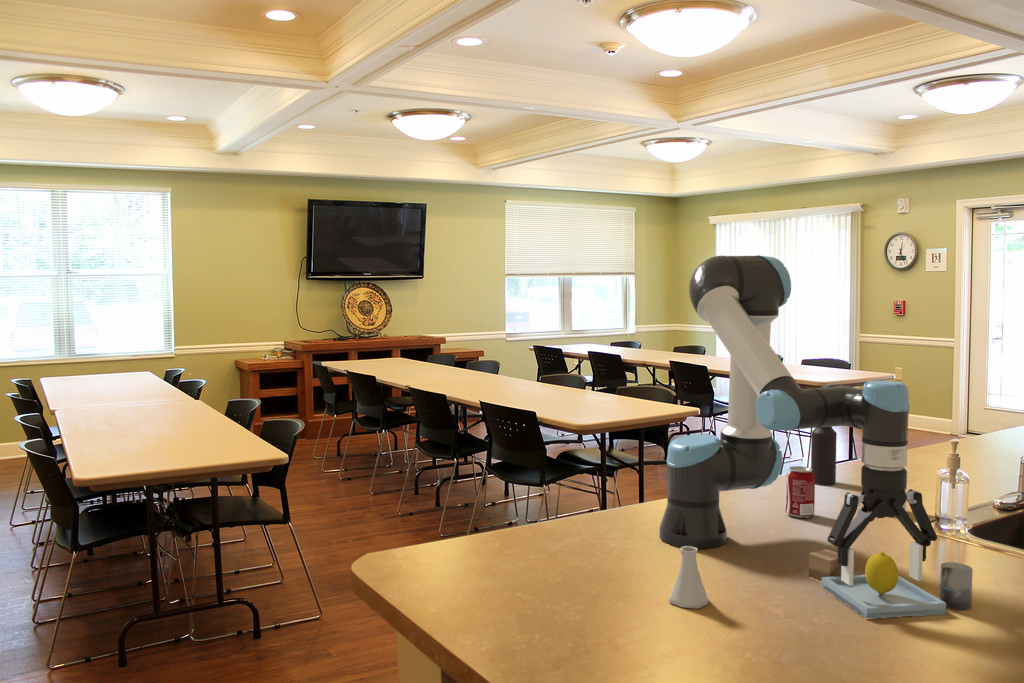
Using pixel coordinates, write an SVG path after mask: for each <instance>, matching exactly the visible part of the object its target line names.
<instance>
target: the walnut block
mask: <svg viewBox="0 0 1024 683" xmlns="http://www.w3.org/2000/svg"><path fill="white" fill-rule="evenodd" d="M835 576H841V565H840V564H839V563H838V552H836V551H833V550H830V549H827V548H826V549H822V550H817V551H812V552H809V553H808V578H809V577H812V578H814V579H817V580H819V581H822V577H835ZM814 579H813V580H814ZM819 581H818V582H819Z"/></svg>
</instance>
